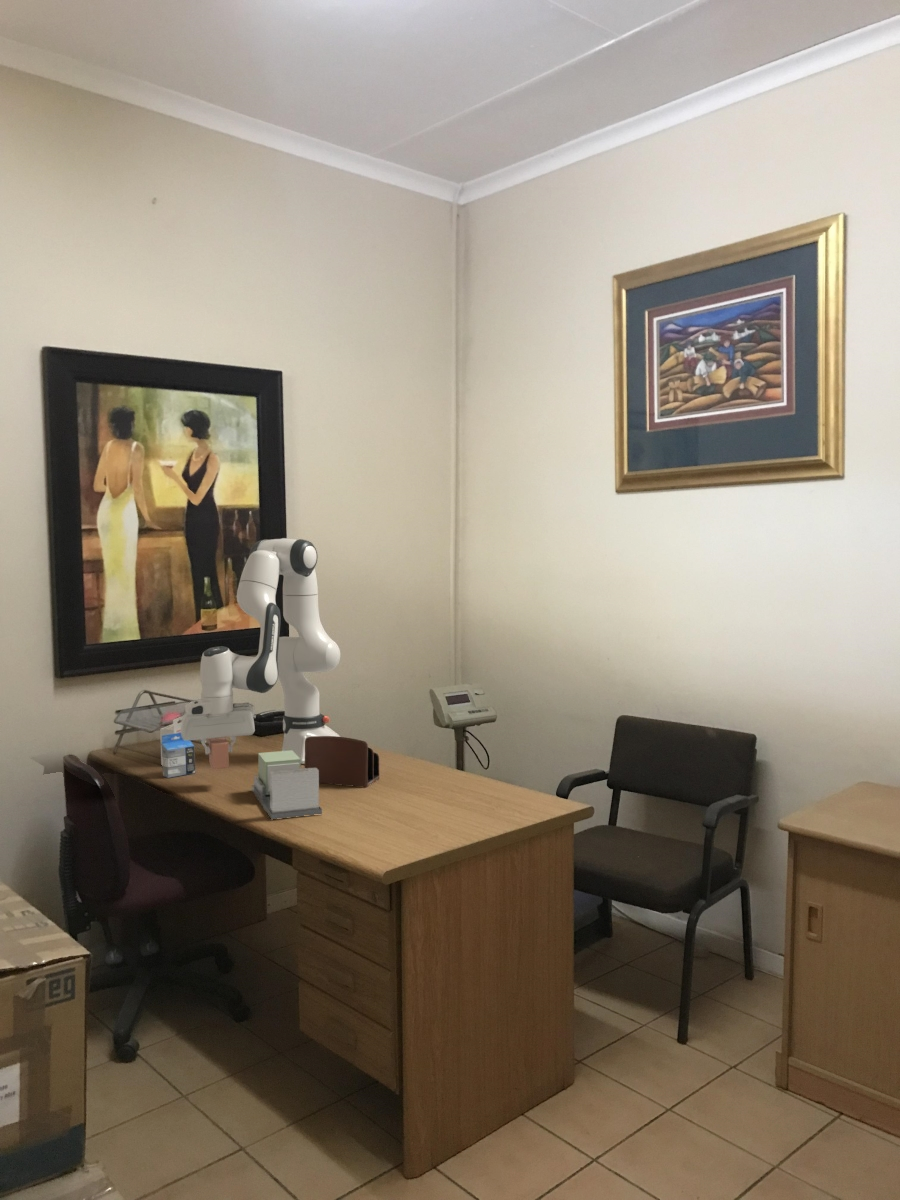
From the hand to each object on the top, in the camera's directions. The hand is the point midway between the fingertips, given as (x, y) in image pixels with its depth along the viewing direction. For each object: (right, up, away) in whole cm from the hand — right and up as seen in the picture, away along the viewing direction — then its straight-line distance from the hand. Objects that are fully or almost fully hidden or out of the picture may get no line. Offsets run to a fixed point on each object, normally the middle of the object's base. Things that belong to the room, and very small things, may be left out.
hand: (218, 752), depth 267 cm
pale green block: (+18, -9, -6) cm, 21 cm away
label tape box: (-16, -9, +15) cm, 23 cm away
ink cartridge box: (-21, -8, +29) cm, 36 cm away
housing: (0, -4, 0) cm, 4 cm away
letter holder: (+34, -10, +9) cm, 36 cm away
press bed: (+21, -11, -14) cm, 28 cm away
